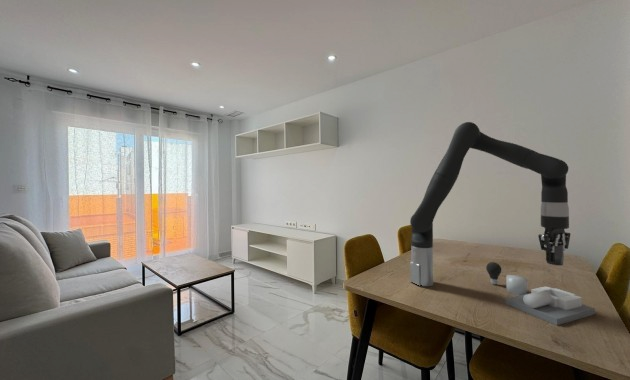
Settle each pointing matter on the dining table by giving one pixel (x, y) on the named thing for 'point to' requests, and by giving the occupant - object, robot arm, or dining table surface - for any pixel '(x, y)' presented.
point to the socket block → (551, 305)
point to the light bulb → (493, 271)
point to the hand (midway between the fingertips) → (554, 261)
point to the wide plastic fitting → (516, 284)
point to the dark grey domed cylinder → (558, 255)
